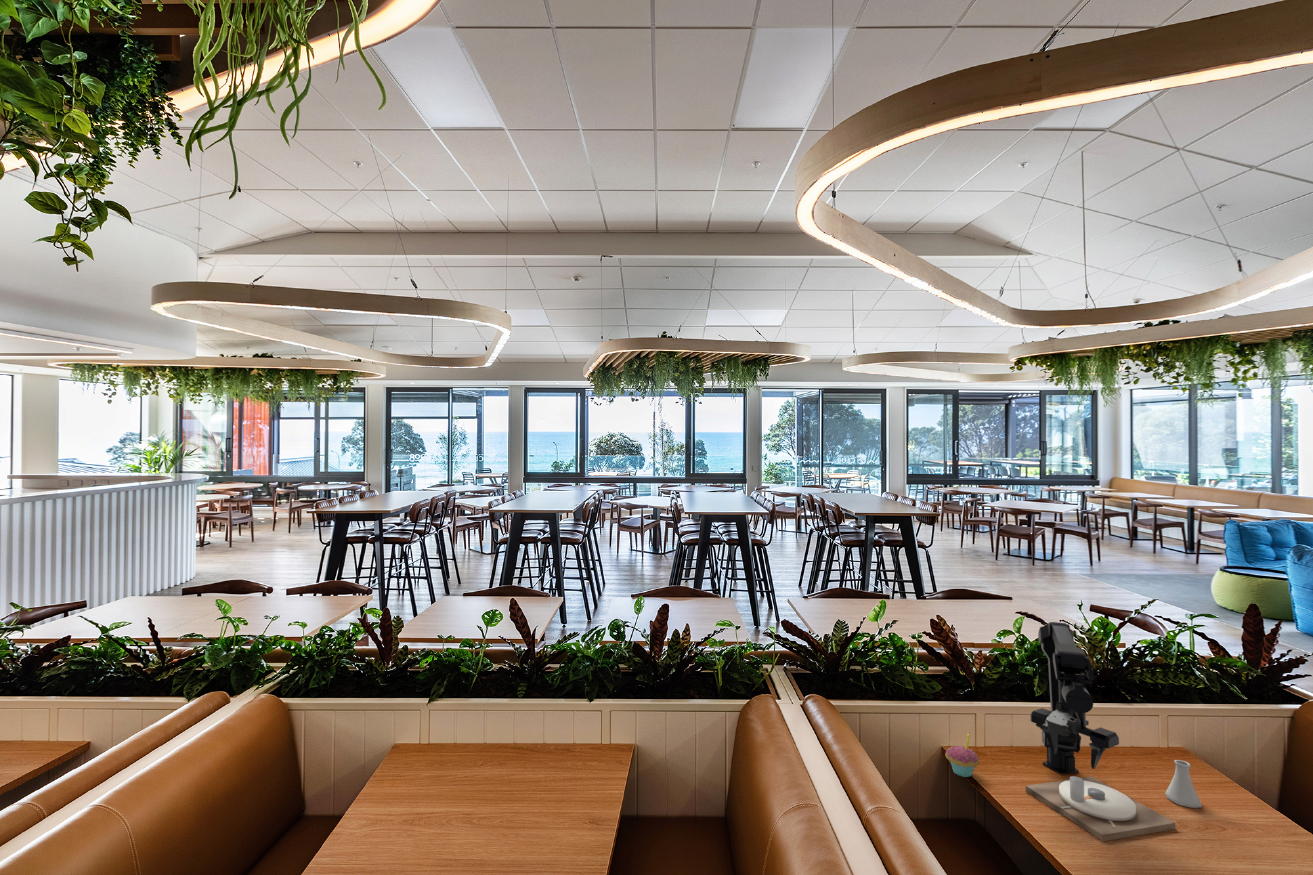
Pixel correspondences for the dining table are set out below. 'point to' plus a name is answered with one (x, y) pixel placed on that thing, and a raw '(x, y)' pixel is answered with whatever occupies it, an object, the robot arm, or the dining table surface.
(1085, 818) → the dial base
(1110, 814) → the dial
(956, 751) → the cupcake
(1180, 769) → the flask
